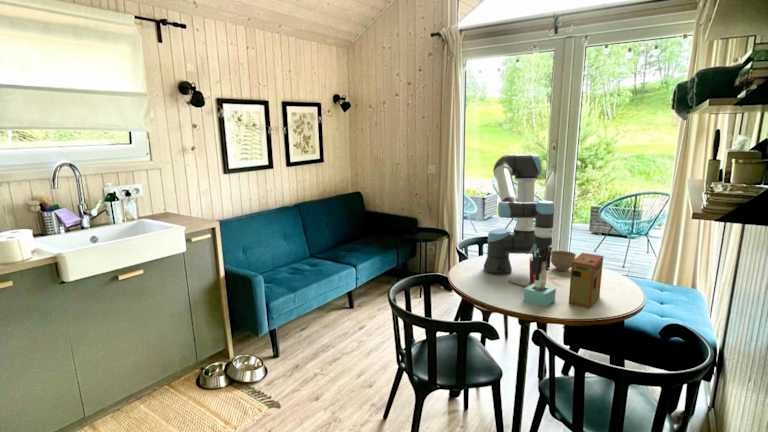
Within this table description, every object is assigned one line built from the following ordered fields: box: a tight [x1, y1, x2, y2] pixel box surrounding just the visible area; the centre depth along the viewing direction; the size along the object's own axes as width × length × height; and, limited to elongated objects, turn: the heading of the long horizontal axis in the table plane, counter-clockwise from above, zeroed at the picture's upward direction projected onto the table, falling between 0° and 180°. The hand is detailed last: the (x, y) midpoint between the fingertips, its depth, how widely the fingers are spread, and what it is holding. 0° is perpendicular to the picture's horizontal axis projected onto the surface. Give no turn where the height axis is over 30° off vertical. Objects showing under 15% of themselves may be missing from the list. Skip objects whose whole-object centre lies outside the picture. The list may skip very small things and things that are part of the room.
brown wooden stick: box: [507, 280, 529, 288], centre depth 206 cm, size 10×1×1 cm, turn 41°
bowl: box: [550, 250, 577, 272], centre depth 226 cm, size 13×13×10 cm
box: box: [568, 252, 604, 310], centre depth 184 cm, size 17×9×20 cm, turn 140°
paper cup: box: [528, 254, 541, 285], centre depth 207 cm, size 8×8×14 cm
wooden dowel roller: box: [535, 260, 547, 292], centre depth 185 cm, size 4×4×16 cm
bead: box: [523, 283, 557, 308], centre depth 187 cm, size 10×10×6 cm
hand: (540, 285), depth 186 cm, fingers closed on wooden dowel roller, 4 cm apart
